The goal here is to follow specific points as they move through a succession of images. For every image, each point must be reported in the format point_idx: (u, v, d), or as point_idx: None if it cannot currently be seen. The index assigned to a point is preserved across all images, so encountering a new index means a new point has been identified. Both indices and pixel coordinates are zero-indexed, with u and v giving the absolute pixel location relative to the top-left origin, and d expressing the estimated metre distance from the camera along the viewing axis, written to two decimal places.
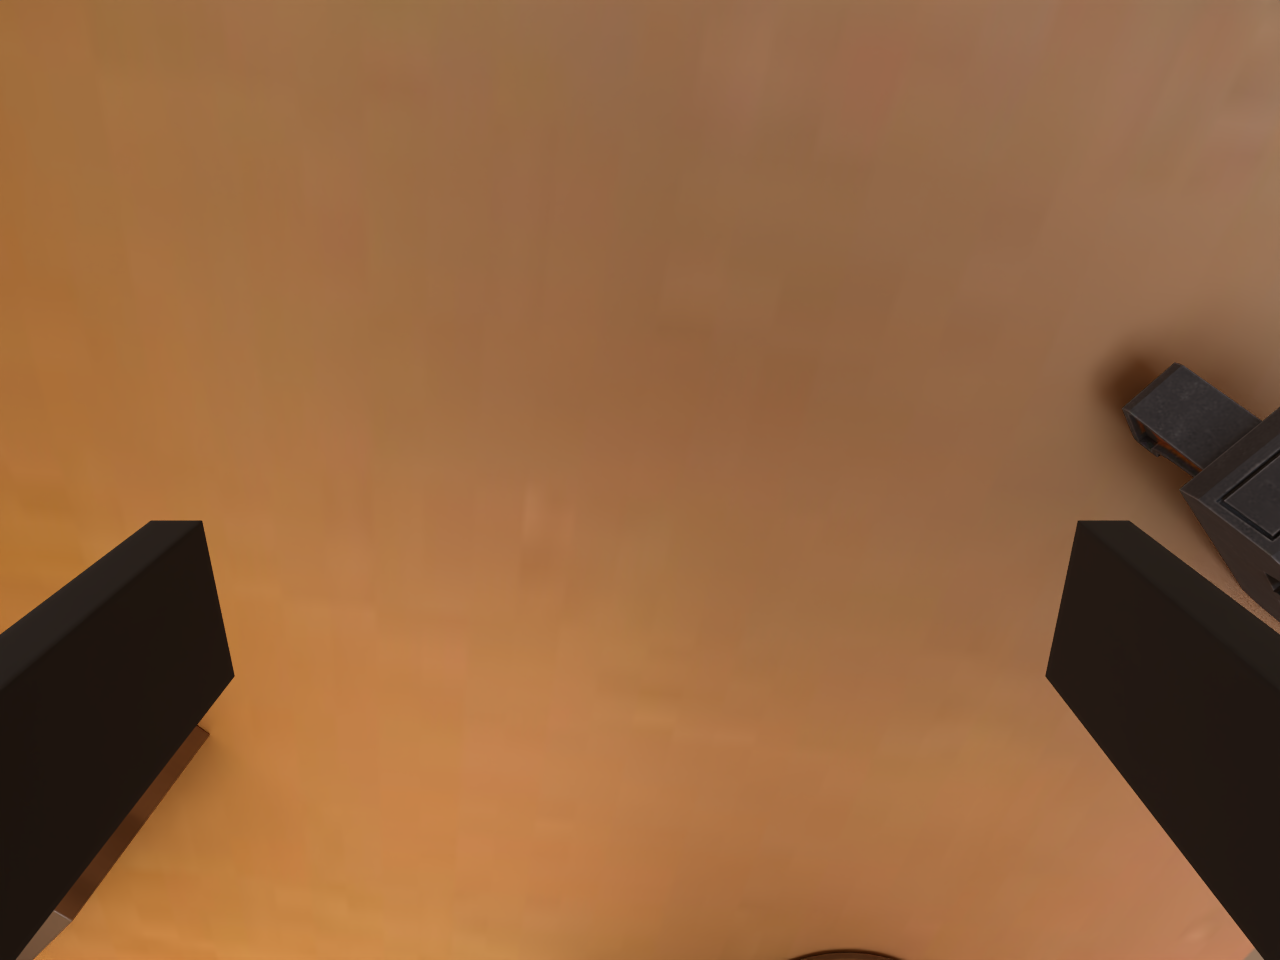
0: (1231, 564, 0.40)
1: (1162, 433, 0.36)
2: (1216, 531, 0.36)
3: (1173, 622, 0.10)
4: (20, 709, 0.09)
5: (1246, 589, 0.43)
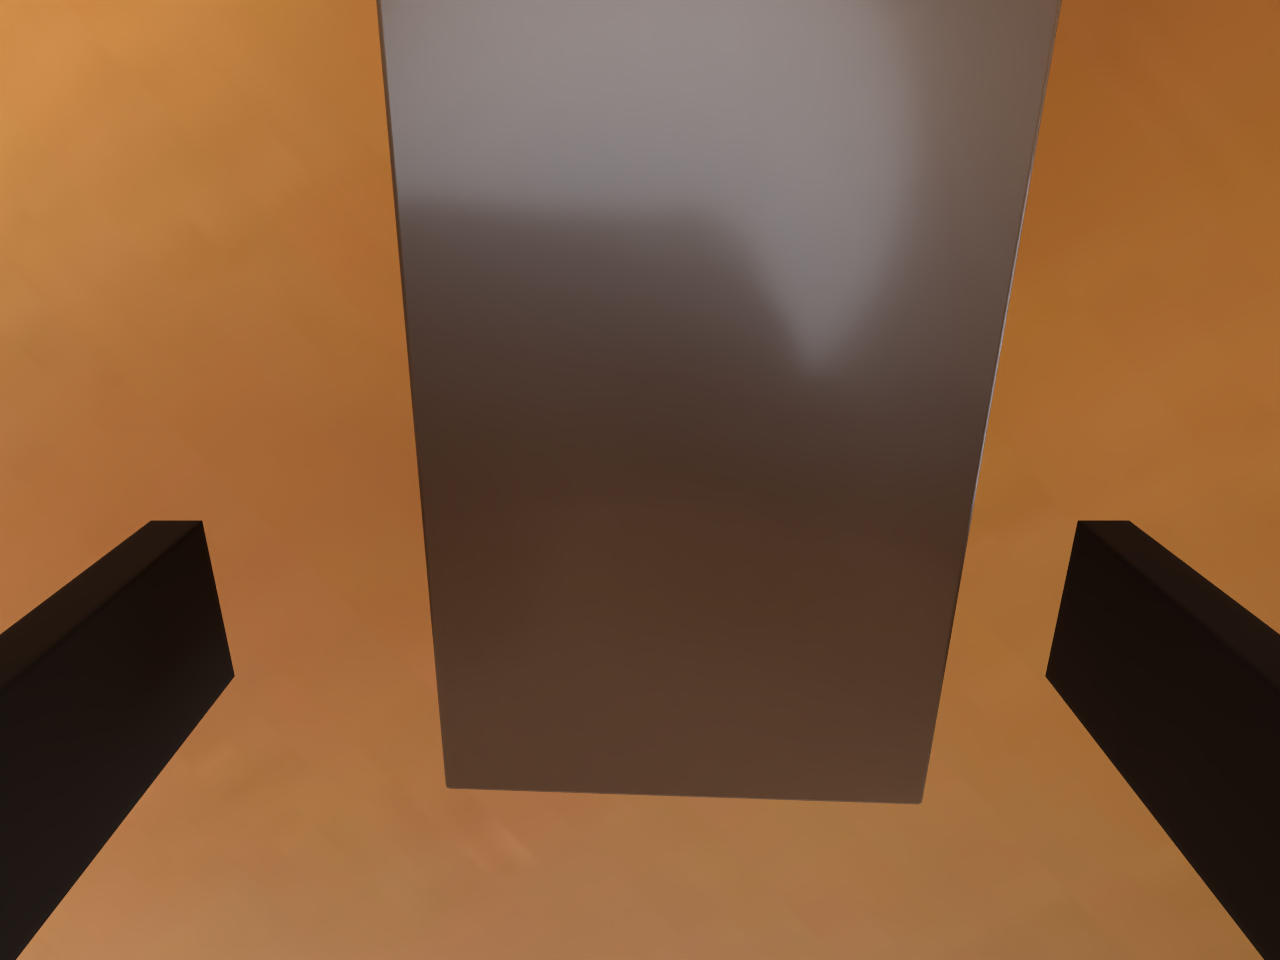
0: None
1: None
2: None
3: (1173, 621, 0.10)
4: (20, 710, 0.09)
5: None
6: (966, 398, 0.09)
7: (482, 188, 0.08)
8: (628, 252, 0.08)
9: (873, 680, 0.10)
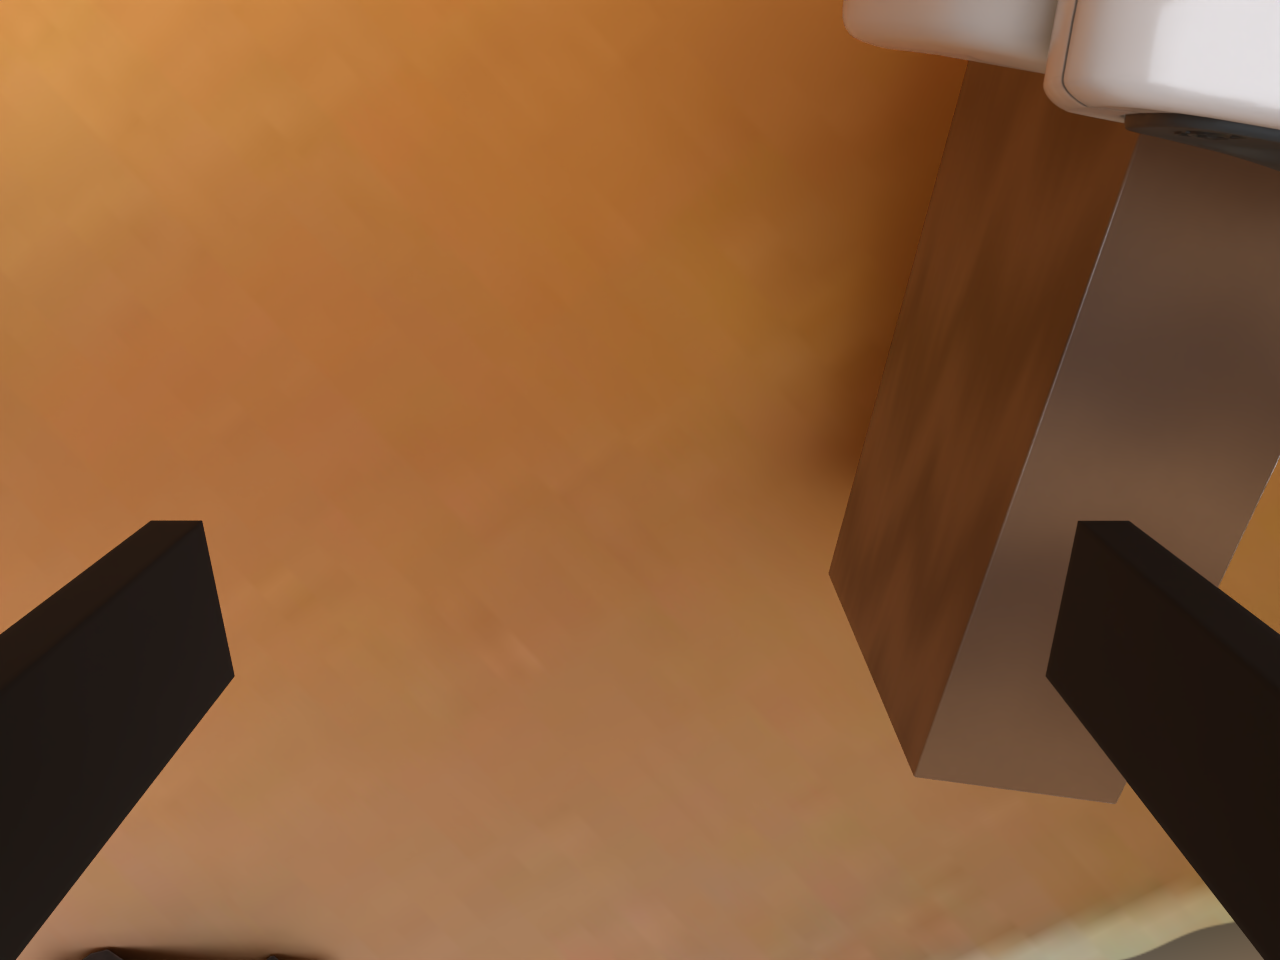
0: None
1: None
2: None
3: (1174, 622, 0.10)
4: (20, 709, 0.09)
5: None
6: None
7: (1026, 557, 0.22)
8: None
9: None
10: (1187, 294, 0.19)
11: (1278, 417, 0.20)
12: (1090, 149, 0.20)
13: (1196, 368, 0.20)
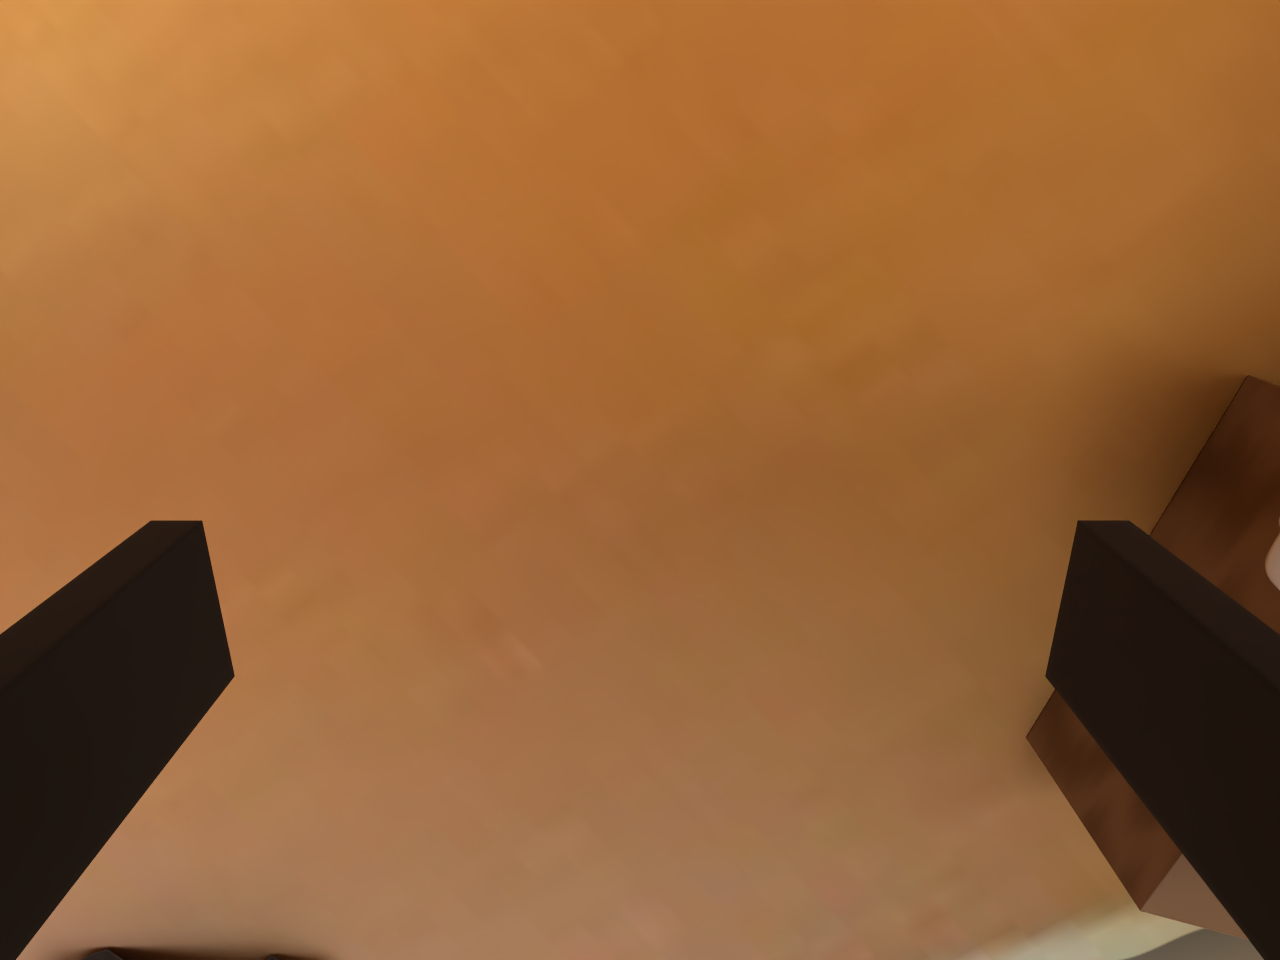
0: None
1: None
2: None
3: (1174, 622, 0.10)
4: (20, 709, 0.09)
5: None
6: None
7: None
8: None
9: None
10: None
11: None
12: None
13: None
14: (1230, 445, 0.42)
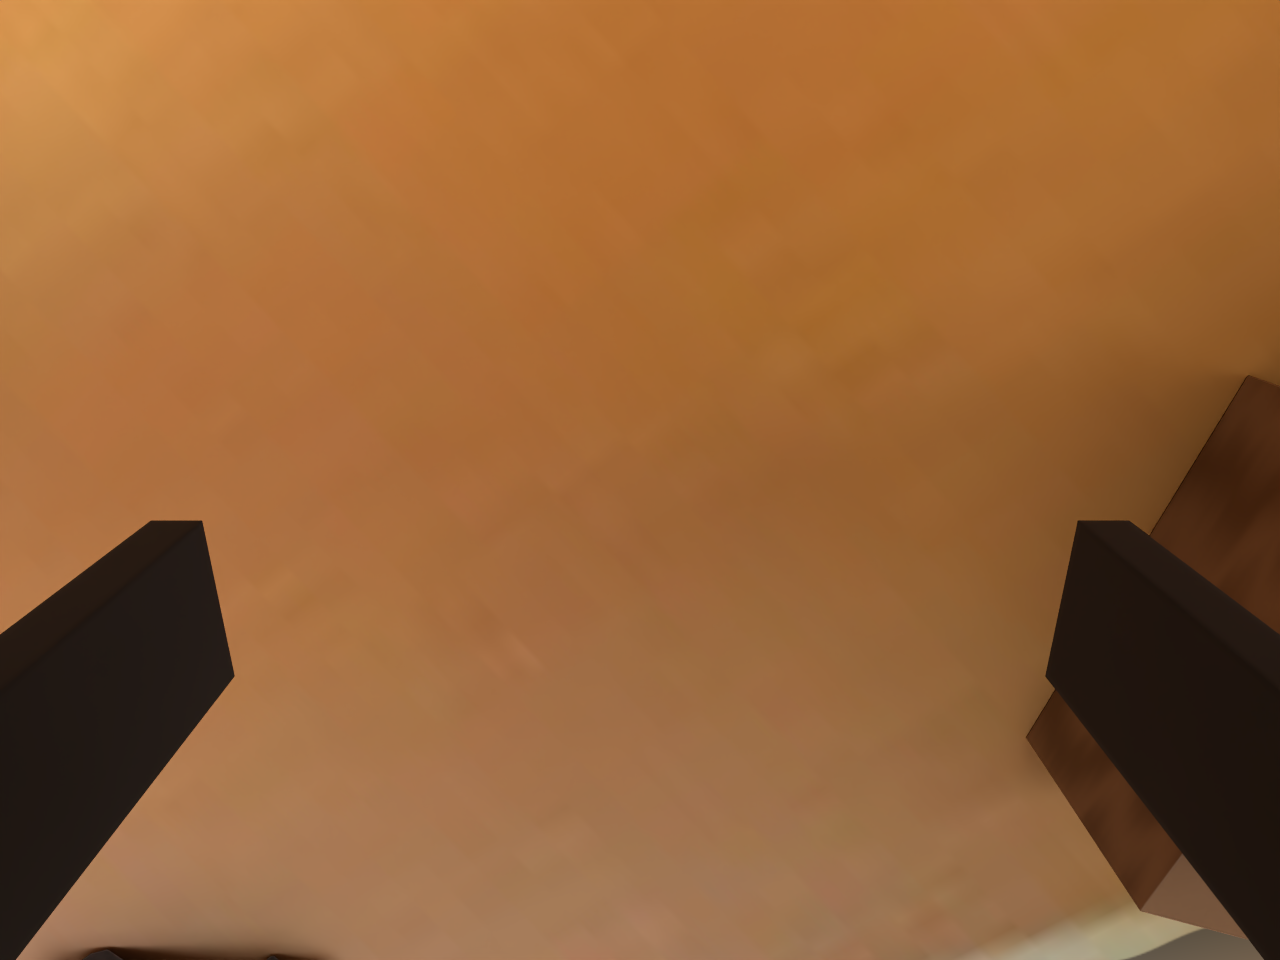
0: None
1: None
2: None
3: (1174, 622, 0.10)
4: (20, 709, 0.09)
5: None
6: None
7: None
8: None
9: None
10: None
11: None
12: None
13: None
14: (1230, 445, 0.42)
